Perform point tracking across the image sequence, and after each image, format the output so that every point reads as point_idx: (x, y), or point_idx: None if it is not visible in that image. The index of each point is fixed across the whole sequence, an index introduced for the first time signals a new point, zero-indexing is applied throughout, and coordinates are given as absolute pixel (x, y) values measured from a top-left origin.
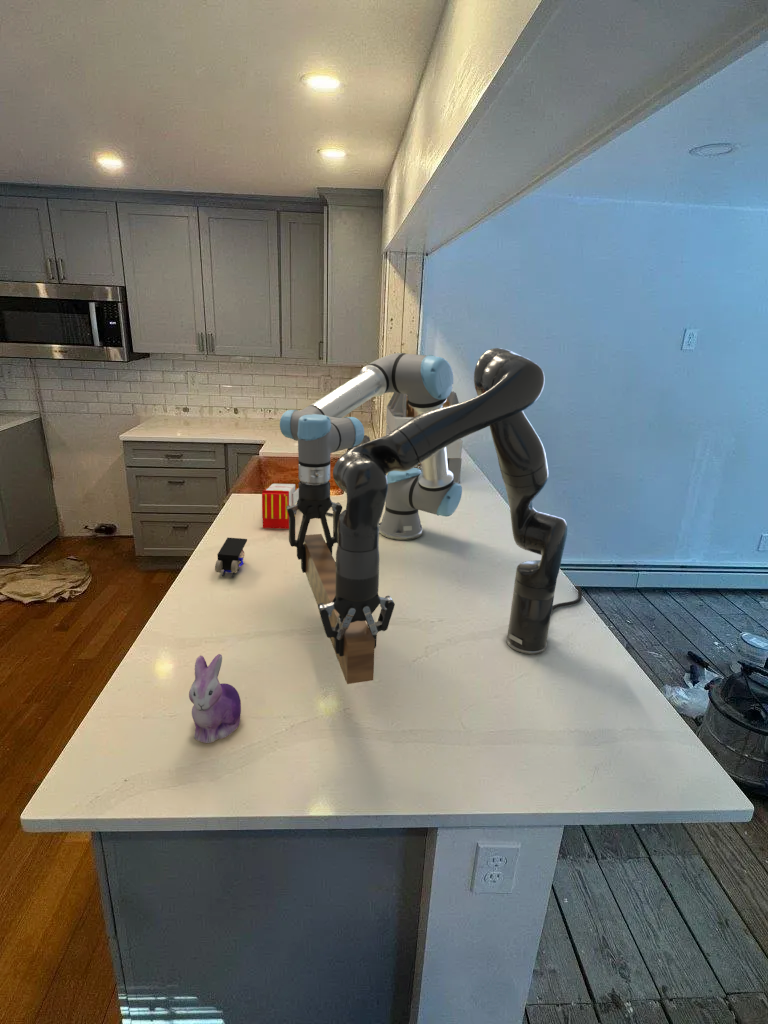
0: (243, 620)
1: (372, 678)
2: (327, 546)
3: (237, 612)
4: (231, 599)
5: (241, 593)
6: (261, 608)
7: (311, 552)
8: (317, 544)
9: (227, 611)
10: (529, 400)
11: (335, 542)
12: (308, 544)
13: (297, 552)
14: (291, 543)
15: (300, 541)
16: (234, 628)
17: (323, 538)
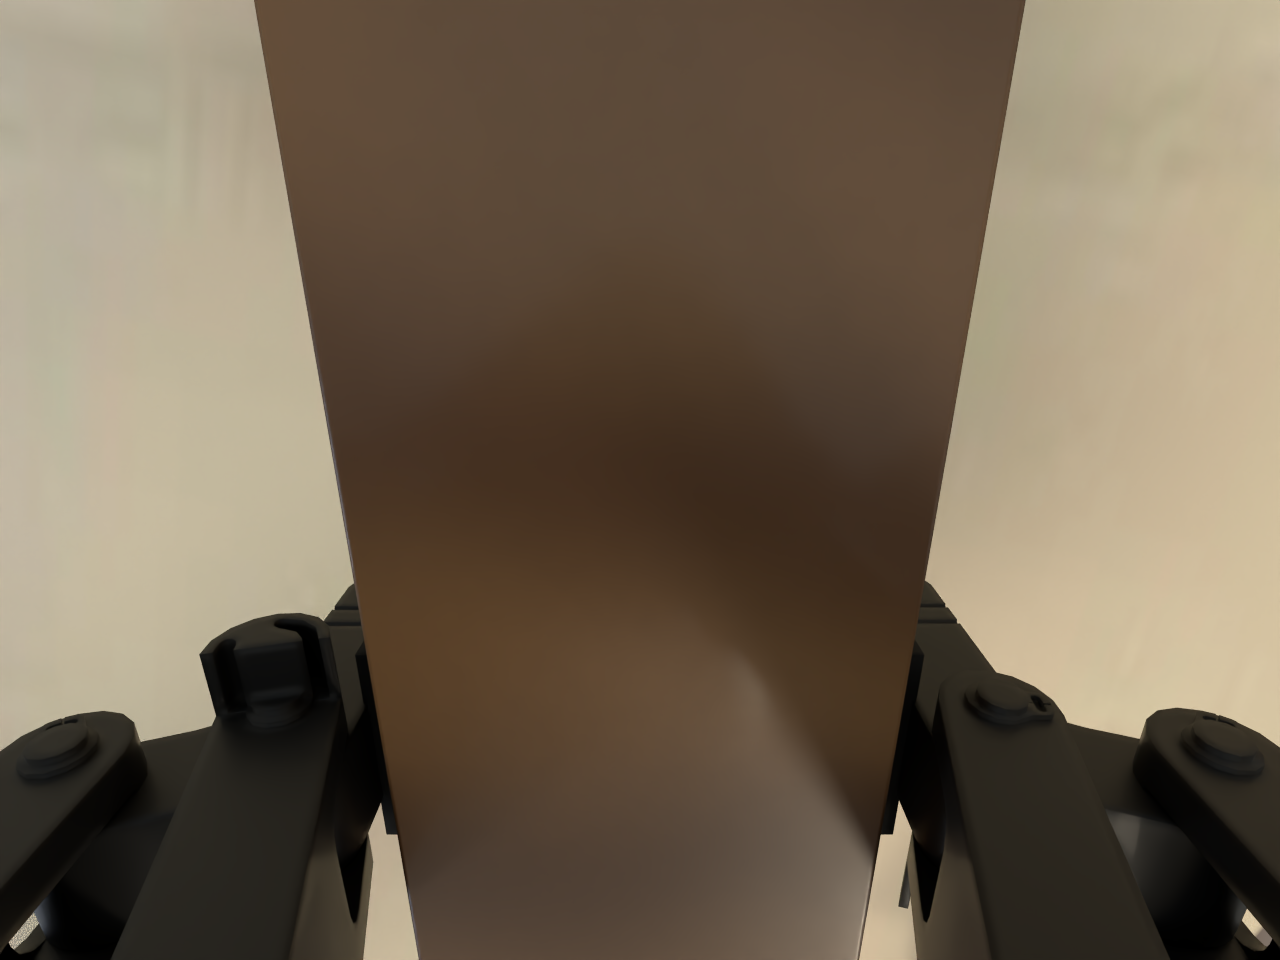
0: (1145, 361)
1: None
2: (335, 444)
3: (1147, 473)
4: (1129, 634)
5: (1048, 690)
6: (983, 491)
7: (947, 53)
8: (612, 627)
9: (1203, 498)
10: None
11: (157, 746)
12: (851, 669)
13: (968, 649)
14: (1277, 771)
15: (1059, 800)
16: (1240, 264)
17: (412, 905)
